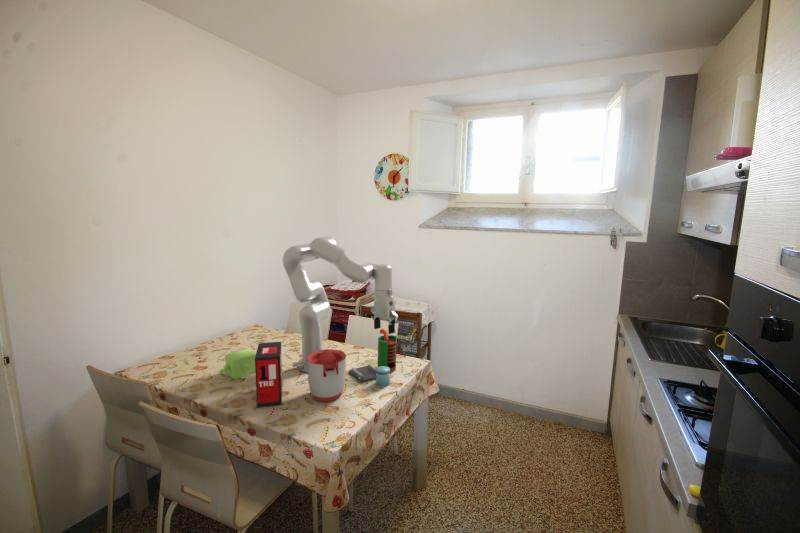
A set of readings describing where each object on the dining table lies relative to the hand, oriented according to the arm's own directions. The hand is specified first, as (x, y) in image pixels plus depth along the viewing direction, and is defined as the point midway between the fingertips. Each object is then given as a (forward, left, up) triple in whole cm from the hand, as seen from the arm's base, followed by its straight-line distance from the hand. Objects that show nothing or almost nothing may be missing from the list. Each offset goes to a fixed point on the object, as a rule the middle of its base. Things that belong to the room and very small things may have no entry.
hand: (384, 330), depth 160 cm
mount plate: (-5, +9, -23) cm, 25 cm away
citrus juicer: (-27, -1, -24) cm, 36 cm away
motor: (+7, +9, -24) cm, 26 cm away
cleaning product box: (-47, +11, -24) cm, 54 cm away
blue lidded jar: (-2, -3, -23) cm, 24 cm away
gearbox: (-54, +39, -24) cm, 71 cm away
